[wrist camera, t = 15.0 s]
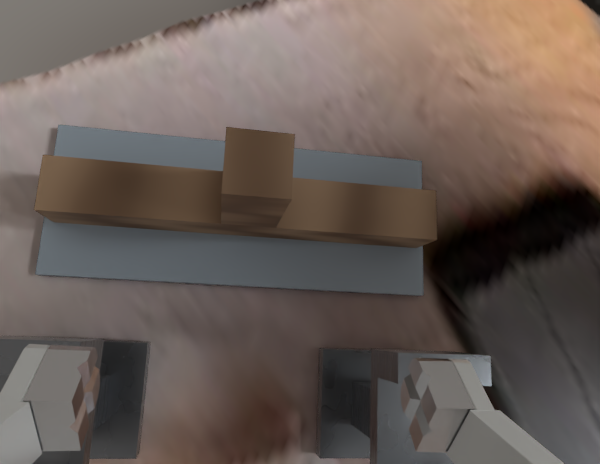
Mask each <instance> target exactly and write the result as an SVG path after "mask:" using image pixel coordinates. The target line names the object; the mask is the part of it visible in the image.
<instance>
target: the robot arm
mask: <svg viewBox="0 0 600 464" xmlns="http://www.w3.org/2000/svg"><path fill="white" fill-rule="evenodd" d="M97 358H98V356H97V350H96V348H94V347H81V346H64V345H42V344H28V345H27V346H26V347H25V348H24V349H23V351H22V353H21V355H20V357H19V358H18V360H17V362H16V364H15V366H14V368H13V370H12V372H11V373H10V375H9V377H8V379H7V381H6V383H5V385H4V387H3V388H2V390H1V392H0V464H33V463H34V462H35V461H36V459H37V458H38V457H39V456H40V455H41V454H42V451H81V449H82V446H83V442H84V439H85V436H86V433H87V430H88V427H89V420H88V414H89V413H90V412H91V411H92V410H93V409H95V405H96V402H97V399H98V393H99V388H100V371H99V369H98V368H97V367H95V364H96V361H97ZM408 368H409V371H410V374H409V375H408V376H407V377H405V378H404V380H403V383H402V386H401V396H400V397H401V404H402V408H403V412H404V414H405V415H406V416H407V417H408V418H409V419H410V420H411V421H412V422H411V424H410V427H409V431H410V434H411V438H412V441H413V444H414V447H415V450H416V452H439V453H447V454H446V455H447V456H448V457H449V458H450V459H451V460H452V462H453V463H454V464H564V463H563V462H562V461H561V460H559V459H558V458H557V457H556V456H555V455H553V454H552V453H551V452H550V451H549V450H547V449H546V448H545V447H544V446H542V445H541V444H540V443H539V442H538V441H536V440H535V439H534V438H533V437H531V436H530V435H529V434H528V433H527V432H525V431H524V430H523V429H522V428H521V427H519V426H518V425H517V424H516V423H514V422H513V421H512V420H511V419H510V418H508V417H507V416H506V415H505V414H503V413H502V412H501V411H500V410H494V408H493V406H492V404H491V402H490V400H489V398H488V396H487V394H486V392H485V390H484V388H483V386H482V384H481V382H480V380H479V378H478V376H477V374H476V372H475V370H474V368H473V366H472V364H471V362H469V361H468V360H467V359H438V358H414V359H413V360H412V361H411V362H410V365H409V367H408Z"/></svg>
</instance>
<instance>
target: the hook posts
mask: <svg viewBox="0 0 600 464" xmlns="http://www.w3.org/2000/svg"><path fill="white" fill-rule="evenodd" d="M28 344H42V345H64V346H81V347H94V348H96V350H97V356H98V358H97V361H96V364H95V367H97V368H98V369H99V371H100V388H99V393H98V399H97V402H96V405H95V409H93V410H92V411H91V412H90V413H89V414H88V420H89V427H88V430H87V433H86V436H85V439H84V442H83V446H82V449H81V451H42V454H41V455H40V456H39V457H38V458H37V459H36V461H35V462H34V463H33V464H89V459H136V457H137V456H138V454H139V448H140V438H141V429H142V419H143V409H144V399H145V390H146V380H147V370H148V360H149V350H150V342H131V341H104V339H83V338H55V337H27V336H0V392H1V390H2V388H3V387H4V385H5V383H6V381H7V379H8V377H9V375H10V373H11V372H12V370H13V368H14V366H15V364H16V362H17V360H18V358H19V357H20V355H21V353H22V351H23V349H24V348H25V347H26V346H27V345H28ZM414 358H438V359H467V360H468V361H469V362H471V364H472V366H473V368H474V370H475V372H476V374H477V376H478V378H479V380H480V382H481V384H482V386H492V378H491V356H488V355H478V354H469V353H460V352H450V351H421V350H393V349H371V350H359V349H330V348H320V353H319V386H318V419H317V451H316V454H317V455H318V456H319V458H370V464H454V463H453V462H452V460H451V459H450V458H449V457H448V456H447V455H446V454H447V453H439V452H416V450H415V447H414V444H413V441H412V438H411V434H410V431H409V427H410V424H411V422H412V421H411V420H410V419H409V418H408V417H407V416H406V415H405V414H404V412H403V408H402V404H401V397H400V396H401V386H402V383H403V380H404V378H405V377H407V376H408V375H409V374H410V371H409V368H408V367H409V365H410V362H411V361H412V360H413V359H414Z"/></svg>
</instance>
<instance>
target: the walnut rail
mask: <svg viewBox="0 0 600 464" xmlns="http://www.w3.org/2000/svg"><path fill="white" fill-rule="evenodd" d="M294 139H295V134H288V133H278V132H269V131H259V130H250V129H240V128H231V127H226V140H225V153H224V166H223V171H216V170H205V169H194V168H183V167H173V166H162V165H151V164H140V163H129V162H118V161H107V160H96V159H85V158H74V157H63V156H52V155H43V157H42V163H41V169H40V176H39V182H38V188H37V194H36V200H35V207H34V210H35V211H37V212H38V213H40V214H41V215H43V216H45V217H46V218H48V219H49V220H51V221H53V222H55V223H70V224H84V225H98V226H112V227H126V228H140V229H154V230H168V231H182V232H196V233H210V234H224V235H238V236H252V237H266V238H280V239H294V240H309V241H323V242H337V243H351V244H365V245H379V246H393V247H407V248H418V247H421V246H423V245H426V244H428V243H431V242H433V241H436V240H437V205H436V191H435V190H424V189H413V188H402V187H391V186H380V185H369V184H358V183H347V182H337V181H326V180H315V179H304V178H293V161H294Z"/></svg>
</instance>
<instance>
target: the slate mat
mask: <svg viewBox="0 0 600 464" xmlns="http://www.w3.org/2000/svg"><path fill="white" fill-rule="evenodd" d="M224 153H225V141H217V140H207V139H197V138H187V137H177V136H167V135H157V134H147V133H137V132H128V131H118V130H108V129H98V128H88V127H78V126H68V125H58V132H57V138H56V145H55V151H54V156H63V157H74V158H85V159H96V160H107V161H118V162H129V163H140V164H151V165H162V166H173V167H183V168H194V169H205V170H216V171H223V166H224ZM293 178H304V179H315V180H326V181H337V182H347V183H358V184H369V185H380V186H391V187H402V188H413V189H422V161H416V160H406V159H396V158H386V157H376V156H366V155H356V154H346V153H337V152H327V151H317V150H307V149H297V148H294V161H293ZM35 274H36V275H42V276H61V277H79V278H98V279H116V280H135V281H153V282H171V283H190V284H208V285H227V286H245V287H264V288H282V289H301V290H319V291H338V292H356V293H374V294H393V295H411V296H423V295H424V291H423V246H421V247H418V248H407V247H393V246H379V245H365V244H351V243H337V242H323V241H309V240H294V239H280V238H266V237H252V236H238V235H224V234H210V233H196V232H182V231H168V230H154V229H140V228H126V227H112V226H98V225H84V224H70V223H55V222H53V221H51V220H49V219H48V218H46V217H45V216H44V222H43V228H42V235H41V241H40V248H39V254H38V260H37V267H36V273H35Z"/></svg>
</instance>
